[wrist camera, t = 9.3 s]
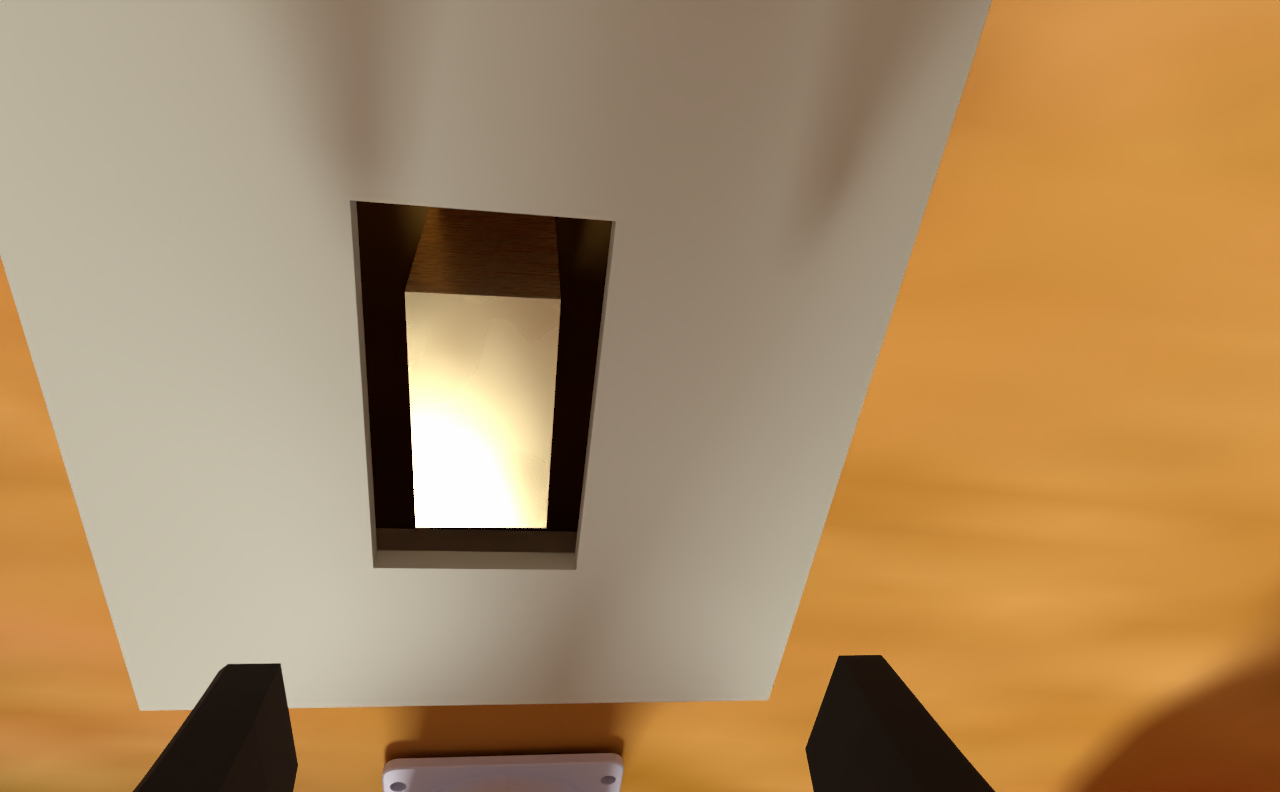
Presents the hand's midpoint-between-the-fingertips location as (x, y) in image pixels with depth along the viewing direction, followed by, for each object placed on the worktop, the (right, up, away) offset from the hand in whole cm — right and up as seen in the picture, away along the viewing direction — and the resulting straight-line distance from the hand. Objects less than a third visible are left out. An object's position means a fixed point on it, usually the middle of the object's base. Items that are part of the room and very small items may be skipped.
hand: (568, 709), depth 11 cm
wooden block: (-2, +6, +8) cm, 11 cm away
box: (-2, +7, +8) cm, 10 cm away
